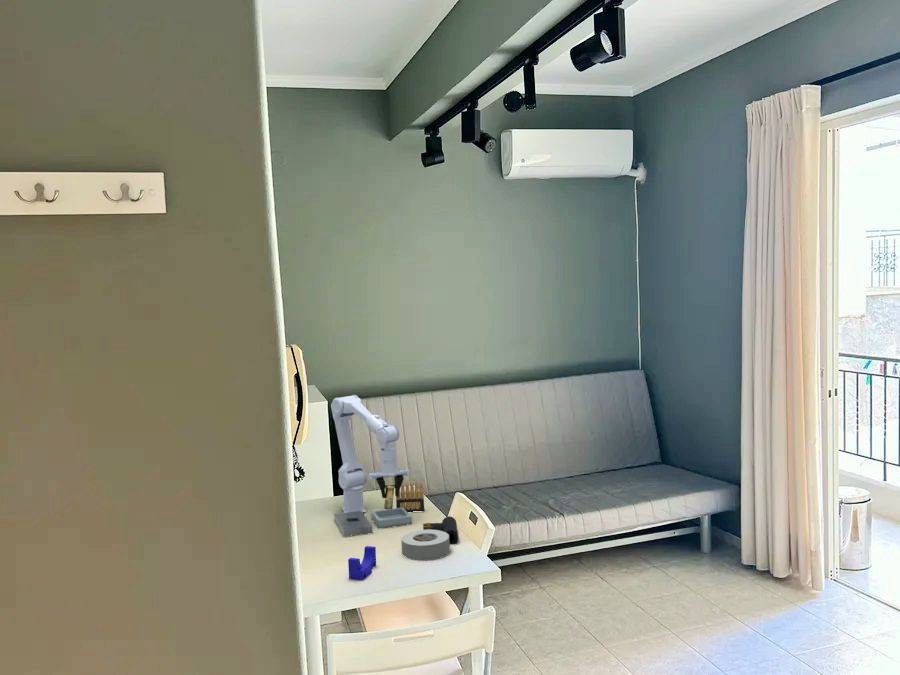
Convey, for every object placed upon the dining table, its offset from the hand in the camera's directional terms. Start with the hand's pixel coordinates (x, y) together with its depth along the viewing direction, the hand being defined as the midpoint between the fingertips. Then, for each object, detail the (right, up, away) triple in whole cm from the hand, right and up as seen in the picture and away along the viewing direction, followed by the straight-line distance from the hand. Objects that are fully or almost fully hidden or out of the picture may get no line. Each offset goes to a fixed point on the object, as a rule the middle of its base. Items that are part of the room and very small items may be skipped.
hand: (390, 496), depth 275 cm
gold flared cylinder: (-1, -4, 0) cm, 4 cm away
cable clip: (-4, -13, -48) cm, 50 cm away
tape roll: (+14, -11, -32) cm, 36 cm away
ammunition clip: (+7, -8, +12) cm, 17 cm away
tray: (0, -9, +1) cm, 9 cm away
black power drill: (+18, -10, -18) cm, 28 cm away
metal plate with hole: (-13, -10, -4) cm, 17 cm away
